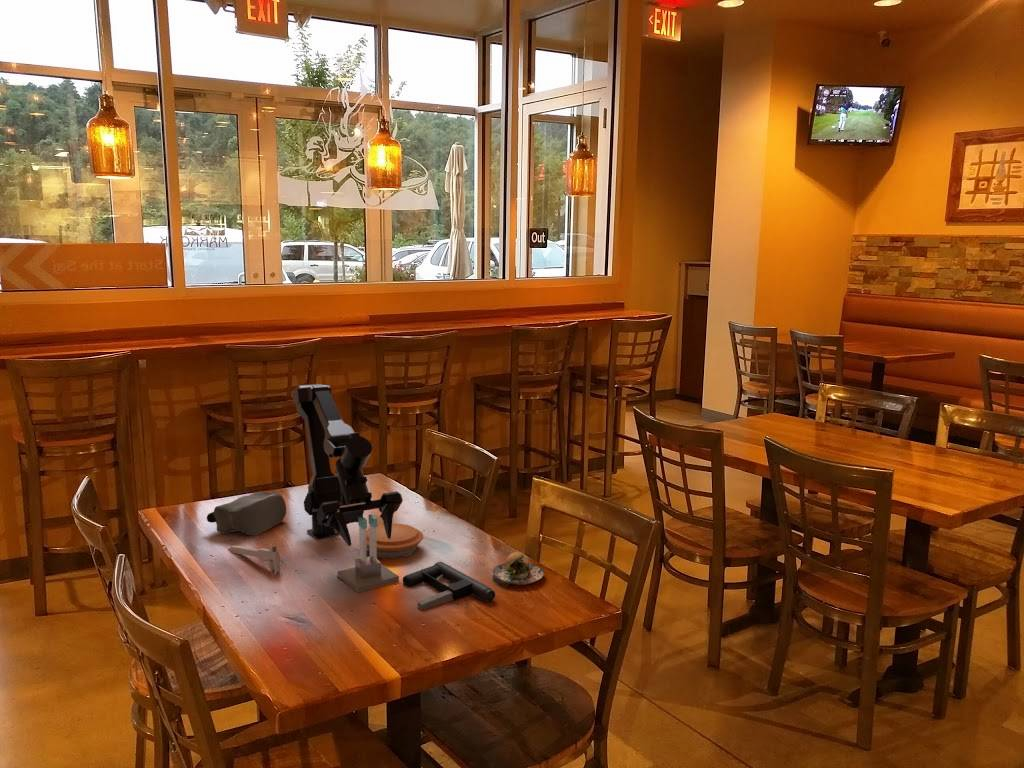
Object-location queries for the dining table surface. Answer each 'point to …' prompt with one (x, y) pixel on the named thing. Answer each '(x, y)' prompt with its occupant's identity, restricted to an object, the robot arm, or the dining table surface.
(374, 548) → the block with twin posts
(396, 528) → the pie
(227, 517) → the grey jug on side
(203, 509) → the dining table surface
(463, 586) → the toy submachine gun
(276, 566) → the caliper
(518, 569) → the burger
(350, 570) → the plate
